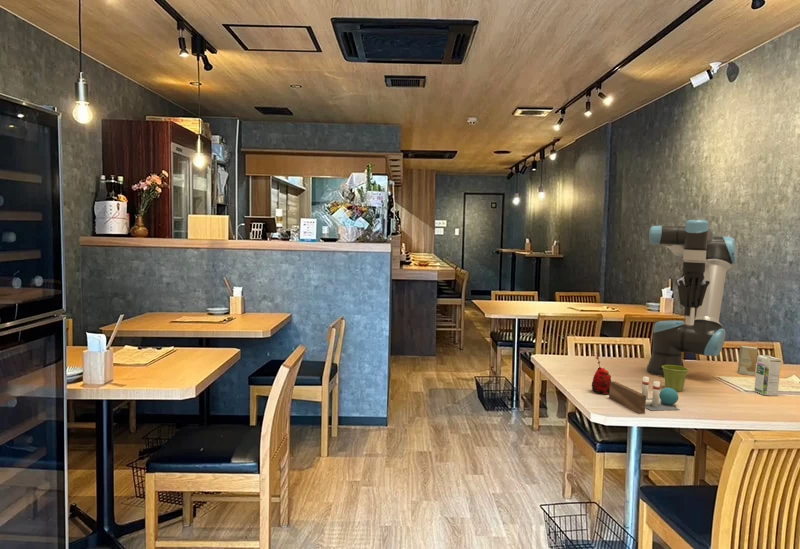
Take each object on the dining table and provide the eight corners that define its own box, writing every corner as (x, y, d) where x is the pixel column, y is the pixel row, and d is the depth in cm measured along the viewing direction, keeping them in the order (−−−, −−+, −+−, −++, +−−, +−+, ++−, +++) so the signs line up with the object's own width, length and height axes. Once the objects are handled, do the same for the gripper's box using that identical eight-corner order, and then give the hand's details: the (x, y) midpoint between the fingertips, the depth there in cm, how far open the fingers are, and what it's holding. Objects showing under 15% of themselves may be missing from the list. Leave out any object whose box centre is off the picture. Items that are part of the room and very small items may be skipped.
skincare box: (739, 374, 247) (741, 346, 246) (737, 372, 251) (739, 345, 251) (755, 376, 245) (758, 348, 244) (753, 373, 249) (756, 346, 248)
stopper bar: (614, 397, 202) (615, 381, 201) (644, 413, 184) (646, 395, 184) (609, 397, 202) (610, 381, 201) (639, 413, 184) (640, 395, 183)
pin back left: (655, 406, 193) (657, 380, 192) (659, 408, 191) (661, 382, 190) (650, 406, 192) (652, 380, 192) (654, 408, 190) (656, 382, 190)
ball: (656, 385, 197) (654, 402, 198) (668, 390, 192) (666, 407, 192) (671, 385, 199) (669, 402, 199) (683, 390, 193) (681, 407, 193)
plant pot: (676, 394, 210) (678, 371, 210) (655, 387, 219) (656, 365, 218) (692, 391, 215) (694, 369, 214) (670, 385, 223) (672, 364, 222)
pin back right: (645, 401, 199) (646, 376, 198) (648, 403, 197) (650, 377, 196) (639, 401, 198) (641, 376, 198) (643, 403, 196) (645, 377, 196)
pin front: (659, 398, 194) (636, 399, 192) (661, 404, 193) (638, 405, 191) (656, 400, 195) (633, 400, 194) (657, 406, 194) (634, 406, 193)
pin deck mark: (655, 398, 202) (655, 398, 202) (679, 410, 190) (680, 409, 190) (628, 399, 200) (628, 398, 200) (650, 410, 187) (651, 410, 187)
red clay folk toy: (611, 396, 204) (613, 355, 203) (591, 393, 206) (593, 353, 205) (611, 391, 211) (613, 351, 210) (591, 388, 213) (593, 349, 212)
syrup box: (753, 391, 218) (756, 355, 217) (767, 391, 218) (770, 355, 217) (764, 395, 212) (767, 358, 211) (778, 396, 213) (781, 358, 212)
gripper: (702, 261, 212) (697, 323, 214) (671, 260, 210) (667, 322, 211) (717, 262, 205) (712, 326, 206) (685, 261, 202) (680, 326, 204)
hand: (689, 324), depth 209 cm, fingers closed
